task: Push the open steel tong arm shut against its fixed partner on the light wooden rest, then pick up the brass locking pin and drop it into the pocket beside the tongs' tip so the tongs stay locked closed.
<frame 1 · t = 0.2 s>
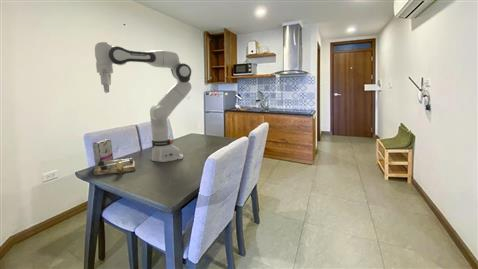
hand: (107, 92, 149), 47 cm above the table, tool pointing down, fingers open, 8 cm apart
brass pin: (120, 173, 141), on the table
tong rest: (115, 169, 149), on the table
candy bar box: (104, 165, 157), on the table
tong arm: (115, 164, 145), point 4 cm above the table, hinge at 25.0°
tong frame: (131, 166, 154), resting on tong rest
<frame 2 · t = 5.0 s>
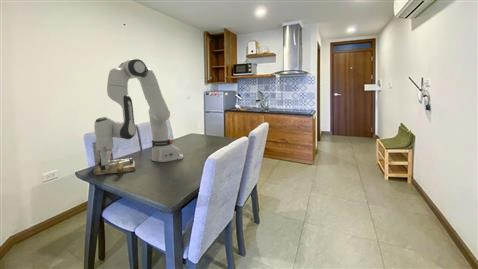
hand: (107, 168, 140), 4 cm above the table, tool pointing down, fingers closed
tong arm: (115, 164, 146), point 4 cm above the table, hinge at 23.0°, touching gripper
everything else where it was.
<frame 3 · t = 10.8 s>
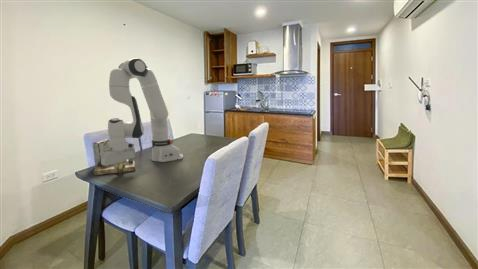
hand: (120, 168, 141), 3 cm above the table, tool pointing down, fingers closed on brass pin, 3 cm apart
brass pin: (120, 173, 141), on the table, touching gripper
tong arm: (113, 163, 149), point 4 cm above the table, hinge at -0.1°
everything else where it was.
when the fingers open (5 cm above the table, at t = 16.5 s): brass pin drops 2 cm, resting in tong rest.
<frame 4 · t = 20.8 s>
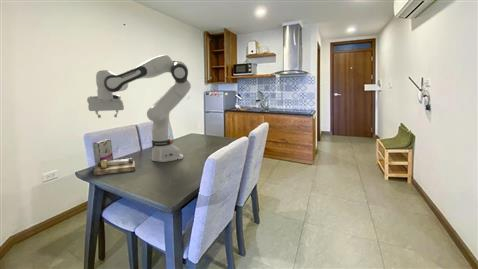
hand: (107, 117, 155), 31 cm above the table, tool pointing down, fingers open, 8 cm apart
brass pin: (104, 171, 144), resting in tong rest
everything else where it was.
at the end: tong arm at +0° (first picture: +25°); brass pin 0.1 cm from the target spot, resting in tong rest; brass pin tilted 0° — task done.
